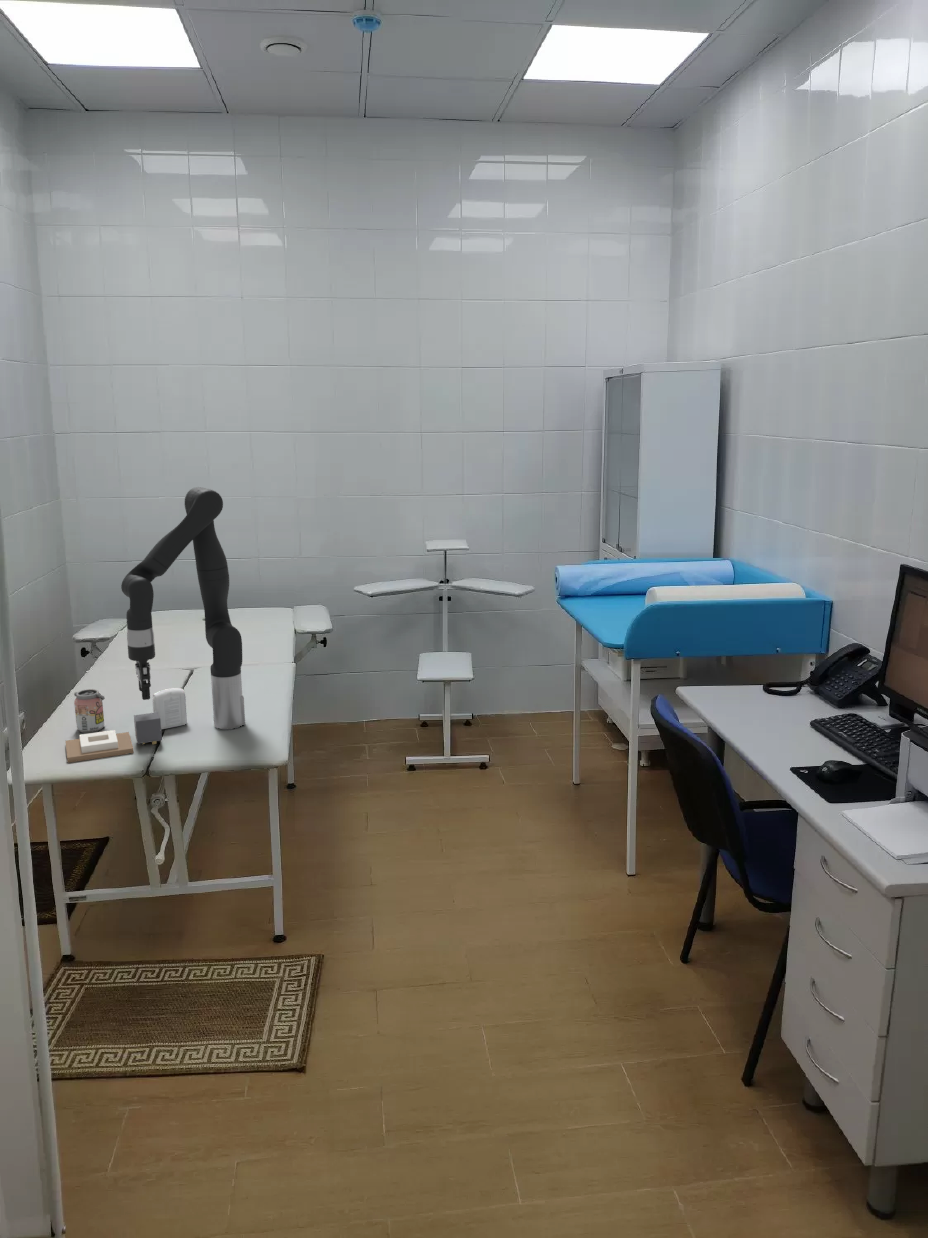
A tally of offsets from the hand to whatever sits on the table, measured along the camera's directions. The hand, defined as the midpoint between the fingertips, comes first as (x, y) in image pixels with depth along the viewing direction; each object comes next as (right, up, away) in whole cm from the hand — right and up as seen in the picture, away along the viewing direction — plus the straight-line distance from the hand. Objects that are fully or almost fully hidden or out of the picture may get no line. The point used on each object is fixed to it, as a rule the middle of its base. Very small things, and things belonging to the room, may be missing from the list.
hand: (144, 694), depth 281 cm
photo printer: (+2, -12, +18) cm, 21 cm away
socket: (-13, -16, -1) cm, 21 cm away
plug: (0, -15, +4) cm, 16 cm away
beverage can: (-22, -12, +16) cm, 29 cm away
